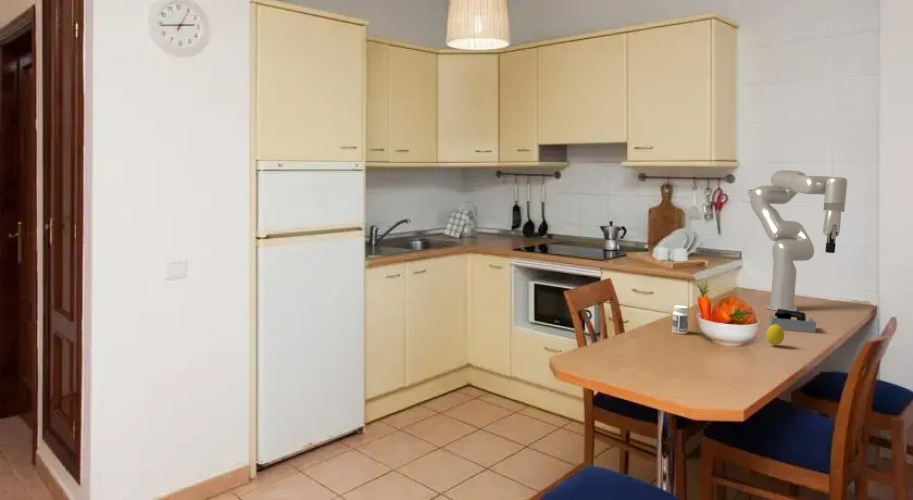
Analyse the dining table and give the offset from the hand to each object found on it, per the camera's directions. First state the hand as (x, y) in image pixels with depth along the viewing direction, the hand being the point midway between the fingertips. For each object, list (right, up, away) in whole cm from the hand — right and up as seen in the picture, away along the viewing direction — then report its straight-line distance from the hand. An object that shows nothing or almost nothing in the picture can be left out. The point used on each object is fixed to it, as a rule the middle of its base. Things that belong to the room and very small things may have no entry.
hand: (829, 252), depth 279 cm
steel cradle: (-21, -30, -10) cm, 38 cm away
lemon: (-41, -33, -39) cm, 65 cm away
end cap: (-21, -30, -8) cm, 37 cm away
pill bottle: (-69, -30, -22) cm, 78 cm away
